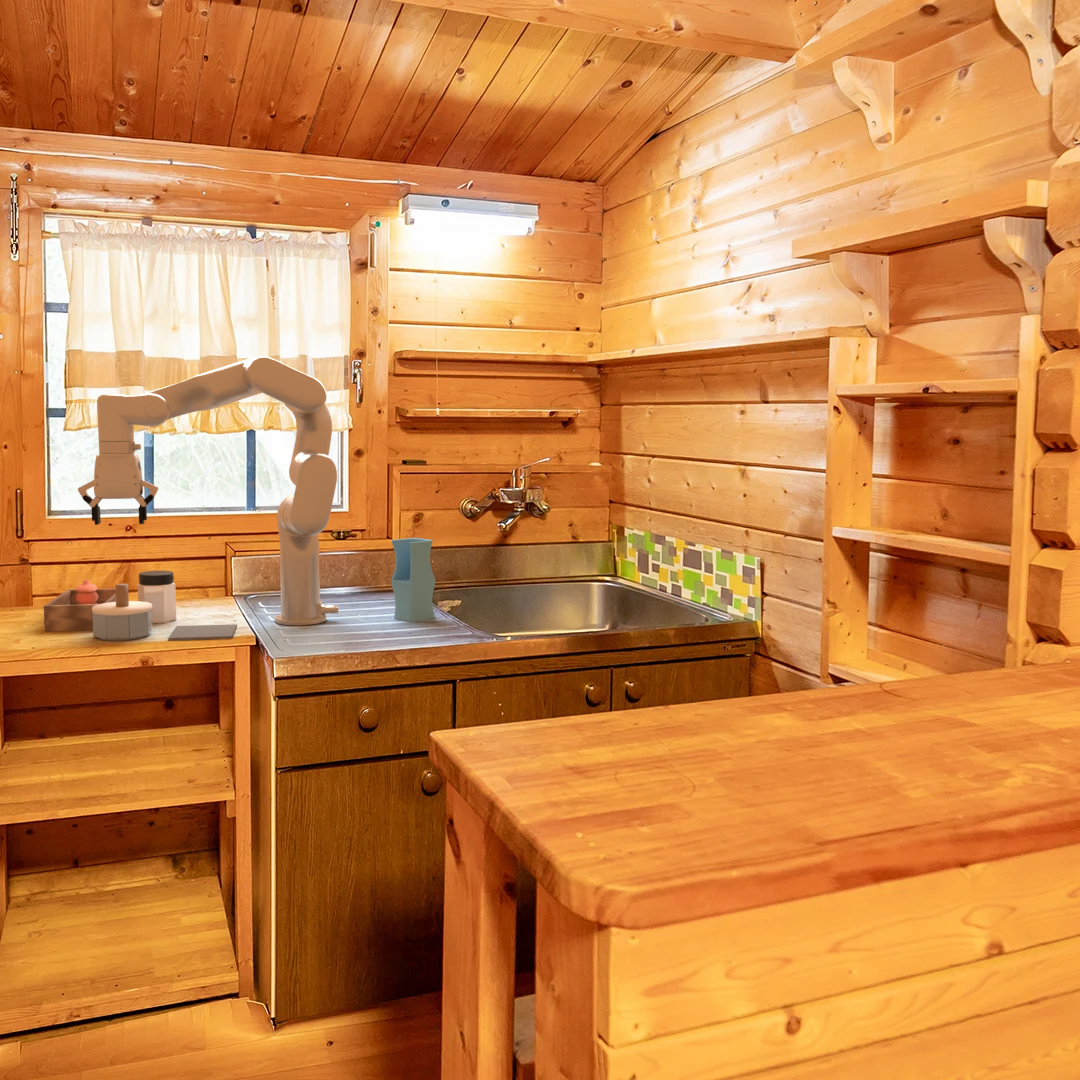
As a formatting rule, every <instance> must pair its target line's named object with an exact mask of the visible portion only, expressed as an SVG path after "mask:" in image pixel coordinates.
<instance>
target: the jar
mask: <svg viewBox="0 0 1080 1080" xmlns="http://www.w3.org/2000/svg"><path fill="white" fill-rule="evenodd" d="M174 577H175V576H174V572H173V571H171V570H147V571H142V572H139V573H138V583H137V601H141V602H148V603H151V604H152V610H151V622H152V624H166V623H170V622H174V621H177V599H176V598H177V595H176V593H177V592H176V583H175V582H174V580H175V578H174Z"/></svg>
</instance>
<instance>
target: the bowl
mask: <svg viewBox="0 0 1080 1080" xmlns="http://www.w3.org/2000/svg"><path fill="white" fill-rule="evenodd" d="M152 624H153V623H152V622H151V611H148V612H145V613H140V614H132V615H118V616H108V615H97V614H94V613H93V630H92V632H93V633H92V634H93V637H95V638H98V640H103V641H109V642H110V641H114V642H115V641H116V642H120V641H122V642H123V641H133V640H138V639H143V638H146V637H148V636H149V634H151V632H152V631H153V628H152V627H153V625H152Z"/></svg>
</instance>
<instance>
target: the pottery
mask: <svg viewBox="0 0 1080 1080" xmlns="http://www.w3.org/2000/svg"><path fill="white" fill-rule="evenodd" d="M97 589H98V587H97V585H96V584H94V583H91V580H90V579H83V580H82V583H81V584H79V585H77V586H76V590H77V591H78V592H80V593H78V594H77V595H76V600H77V602H79V604H78V605H84V604H97V603H95V602H96V601H97V600H98V594H97V593H96V592H94V591H96V590H97Z"/></svg>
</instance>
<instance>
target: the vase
mask: <svg viewBox="0 0 1080 1080" xmlns="http://www.w3.org/2000/svg"><path fill="white" fill-rule="evenodd" d="M390 541H391V545H392V548H393V550H394V556H395V564H394V570H393V574H392V576H391V579H390V582H391V583H390V585H391V588H392V591H393V595H394V602H395V603H394V605H395V606H394V607H395V608H394V609H395V610H394V616H393V619H394V620H398V621H402V622H403V621H404V622H407V623H416V622H423V621H427V620H434V619H436V616H435V612H434V608H433V595H434V590H435V587H436V579H435V578H436V577H435V575H434V573H433V570H432V564H431V549H432V545H433V539H427V538H421V537H420V538H419V537H410V538H409V537H408V538H399V539H391V540H390Z"/></svg>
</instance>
